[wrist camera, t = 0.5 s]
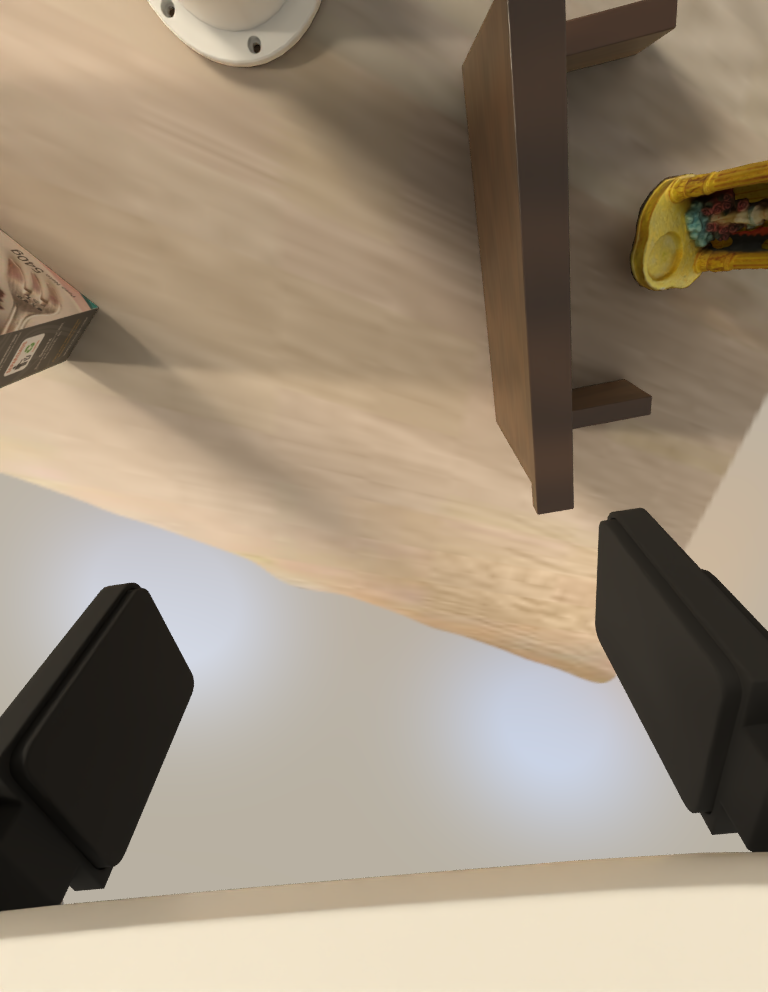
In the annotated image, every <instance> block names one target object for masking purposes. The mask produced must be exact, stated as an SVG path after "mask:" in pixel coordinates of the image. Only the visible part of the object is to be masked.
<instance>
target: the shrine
mask: <svg viewBox="0 0 768 992" xmlns="http://www.w3.org/2000/svg"><path fill="white" fill-rule="evenodd" d="M630 266H631V273H632V275H633V276H634V279H635V280H636V281H637V282H638V284H639V285H640V286H641V287H645V288H647V289H649V290H653V291H657V290H658V291H661V290H665V289H667V290H668V289H669V288H671V289H672V288H680V289H682V288H687V287H688V286H689V285H691V284H692V283H693V282H694V281H695V280H696V279H697V278H698V277H699V276H700V275H701V273H702V272H705V271H709V270H710V271H712V272H719V271H730V270H732V269H734V270H735V269H759V268H762V269H768V160H767V161H763V162H757V163H752V164H747V165H743V166H739V167H736V168H732V169H727V170H723V171H719V172H711V173H709V174H701V175H693V174H685V175H681V176H672V177H668V178H665V179H664V180H663V181H661V182H660V183H659V184H658V185H657V186H656V187H655V188H654V189H653V190H652V191H651V192H650V194H649V195H648V196H647V198H646V200H645V201H644V203H643V204H642V206H641V208H640V211H639V215H638V220H637V225H636V235H635V238H634V242H633V245H632V250H631V253H630Z"/></svg>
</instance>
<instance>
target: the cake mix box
mask: <svg viewBox="0 0 768 992" xmlns="http://www.w3.org/2000/svg"><path fill="white" fill-rule="evenodd" d="M98 308H99V307H97V306H96V305H95V304H94V303H92V302H91V301H90V300H89V299H87V298H86V297H85V296H84V295H82V294H81V293H80V292H78V291H77V290H76V289H75V288H73V287H72V286H71V285H70V284H68V283H67V282H66V281H65V280H63V279H62V278H61V277H60V276H58V275H57V274H56V273H55V272H53V271H52V270H51V269H49V268H48V267H47V266H46V265H44V264H43V263H42V262H41V261H39V260H38V259H37V258H36V257H34V256H33V255H32V254H31V253H29V252H28V251H27V250H26V249H24V248H23V247H22V246H20V245H19V244H18V243H17V242H15V241H14V240H13V239H12V238H10V237H9V236H8V235H7V234H5V233H4V232H3V231H2V230H0V388H2V387H4V386H7V385H9V384H12V383H14V382H16V381H19V380H21V379H23V378H26V377H28V376H31V375H33V374H35V373H38V372H40V371H43V370H45V369H47V368H50V367H52V366H54V365H57V364H59V363H62V362H64V361H66V360H67V358H68V356H69V355H70V353H71V352H72V350H73V348H74V347H75V345H76V344H77V342H78V340H79V339H80V337H81V336H82V334H83V332H84V331H85V329H86V327H87V326H88V324H89V323H90V321H91V319H92V318H93V316H94V315H95V313H96V311H97V310H98Z"/></svg>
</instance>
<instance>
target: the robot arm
mask: <svg viewBox="0 0 768 992" xmlns="http://www.w3.org/2000/svg"><path fill="white" fill-rule="evenodd" d="M147 1H148V3H149V4H150V6H151V7H152V9H153V10H154V11H155V12H156V14H157V15H158V16H159V18H160V19H161V20H162V22H163V23H164V24H165V25H166V26H167V27H168V28H169V29H170V30H171V31H172V32H173V33H174V34H175V35H176V36H177V37H178V38H179V39H180V40H181V41H182V42H184V43H185V44H186V45H187V46H189V47H190V48H191V49H192V50H194V51H195V52H197V53H199V54H200V55H202V56H204V57H206V58H208V59H210V60H212V61H214V62H218V63H221V64H225V65H228V66H237V67H251V66H256V65H261V64H265V63H268V62H270V61H272V60H274V59H276V58H278V57H280V56H282V55H283V54H284V53H285V52H287V51H288V50H289V49H290V48H291V47H293V46H294V45H295V44H296V43H297V42H298V41H299V39H300V38H301V37H302V36H303V34H304V33H305V32H306V30H307V29H308V28H309V26H310V24H311V22H312V21H313V19H314V17H315V15H316V13H317V11H318V9H319V7H320V4H321V0H147ZM171 9H175V13H174V16H173V17H171V16H170V10H171ZM256 44H258V45H260V52H258V53H255V52H254V46H255V45H256ZM595 626H596V632H597V636H598V639H599V641H600V643H601V645H602V647H603V649H604V651H605V653H606V655H607V657H608V659H609V661H610V662H611V664H612V666H613V668H614V670H615V672H616V674H617V676H618V678H619V680H620V681H621V684H622V685H623V687H624V689H625V691H626V693H627V695H628V697H629V699H630V701H631V703H632V705H633V707H634V708H635V710H636V712H637V714H638V716H639V718H640V720H641V722H642V724H643V726H644V728H645V730H646V731H647V733H648V735H649V737H650V739H651V741H652V743H653V745H654V747H655V749H656V751H657V753H658V754H659V756H660V758H661V760H662V762H663V764H664V766H665V768H666V770H667V772H668V773H669V775H670V777H671V779H672V781H673V783H674V785H675V787H676V789H677V791H678V793H679V795H680V796H681V799H682V800H683V802H684V804H685V806H686V807H687V808H688V810H689V811H691V812H692V813H701V815H702V817H703V819H704V821H705V823H706V824H707V826H708V828H709V830H710V832H711V834H712V835H715V834H727V833H738V834H739V835H740V837H741V839H742V840H743V842H744V844H745V845H746V847H747V849H748V850H750V851H752V852H723V853H691V854H674V855H658V856H641V857H625V858H609V859H592V860H578V861H565V862H553V863H541V864H529V865H517V866H516V865H515V866H503V867H491V868H478V869H465V870H453V871H441V872H428V873H416V874H404V875H392V876H380V877H368V878H357V879H344V880H333V881H321V882H309V883H298V884H286V885H275V886H263V887H251V888H240V889H228V890H217V891H206V892H194V893H184V894H174V895H162V896H151V897H140V898H129V899H118V900H107V901H96V902H85V903H74V904H63V898H64V896H65V893H66V892H67V889H68V887H69V886H70V887H71V888H73V889H74V891H80V890H91V889H102V888H104V887H105V885H106V883H107V880H108V878H109V876H110V873H111V871H112V868H113V866H115V865H117V864H118V863H119V862H120V861H121V860H122V858H123V856H124V854H125V852H126V849H127V847H128V845H129V842H130V840H131V838H132V835H133V833H134V831H135V828H136V826H137V823H138V821H139V819H140V816H141V814H142V812H143V809H144V807H145V804H146V802H147V800H148V797H149V795H150V792H151V790H152V787H153V785H154V783H155V781H156V778H157V776H158V773H159V771H160V768H161V766H162V764H163V761H164V759H165V757H166V754H167V752H168V750H169V747H170V745H171V743H172V740H173V738H174V735H175V733H176V731H177V728H178V726H179V723H180V721H181V718H182V716H183V714H184V712H185V709H186V707H187V704H188V702H189V700H190V697H191V695H192V692H193V687H194V680H193V675H192V673H191V671H190V669H189V667H188V665H187V663H186V662H185V660H184V658H183V656H182V654H181V652H180V650H179V648H178V646H177V644H176V643H175V641H174V639H173V637H172V635H171V633H170V632H169V629H168V628H167V626H166V624H165V622H164V620H163V618H162V616H161V614H160V612H159V610H158V609H157V607H156V605H155V603H154V601H153V599H152V597H151V595H150V594H149V592H148V591H147V590H146V589H144V588H141V587H140V586H139V585H138V584H136V583H126V584H119V585H113V586H108V587H104V588H103V589H102V590H101V591H100V593H99V594H98V595H97V596H96V598H95V599H94V600H93V601H92V603H91V604H90V605H89V606H88V608H87V609H86V610H85V611H84V612H83V614H82V615H81V616H80V618H79V619H78V620H77V621H76V623H75V624H74V625H73V626H72V628H71V629H70V630H69V631H68V633H67V634H66V635H65V636H64V638H63V639H62V640H61V641H60V643H59V644H58V645H57V646H56V648H55V649H54V650H53V651H52V653H51V654H50V655H49V657H48V658H47V659H46V660H45V662H44V663H43V664H42V665H41V667H40V668H39V669H38V670H37V672H36V673H35V674H34V675H33V677H32V678H31V679H30V680H29V682H28V683H27V684H26V685H25V687H24V688H23V689H22V690H21V692H20V693H19V694H18V696H17V697H16V698H15V699H14V701H13V702H12V703H11V704H10V706H9V707H8V708H7V709H6V711H5V712H4V713H3V714H2V716H1V717H0V992H768V631H767V630H766V629H765V628H764V627H763V626H762V625H761V624H760V623H759V622H758V621H757V620H756V619H755V618H754V616H753V615H752V614H751V613H750V612H749V611H748V610H747V609H746V608H745V607H744V606H743V605H742V604H741V603H740V602H739V601H738V600H737V599H736V598H735V597H734V596H733V595H732V593H730V591H729V590H728V589H727V588H726V587H725V586H724V585H723V584H722V583H721V582H720V581H719V580H718V579H717V578H716V577H715V576H714V575H712V574H711V573H710V572H709V571H706V570H703V569H700V568H699V567H698V565H697V564H696V563H694V561H693V560H692V559H691V558H690V557H689V556H688V555H687V554H686V553H685V552H684V550H683V549H682V548H681V547H680V546H679V545H678V544H677V543H676V542H675V541H674V540H673V539H672V538H671V537H670V536H669V534H668V533H667V532H666V531H665V530H664V529H663V528H662V527H661V526H660V525H659V524H658V523H657V522H656V521H655V519H654V518H653V517H652V516H651V515H650V514H649V513H648V512H647V511H646V510H645V509H643V508H636V509H629V510H623V511H616V512H611V513H610V514H609V516H608V520H606V521H601V522H600V525H599V540H598V565H597V591H596V616H595Z"/></svg>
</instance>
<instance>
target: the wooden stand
mask: <svg viewBox="0 0 768 992" xmlns="http://www.w3.org/2000/svg"><path fill="white" fill-rule="evenodd" d="M676 15H677V0H643V1H639V2H635V3H631V4H628V5H624V6H620V7H616V8H613V9H609V10H605V11H601V12H598V13H594V14H590V15H587V16H583V17H579V18H575V19H572V20H568V21H566V11H565V0H494V1H493V3H492V5H491V7H490V9H489V11H488V13H487V15H486V18H485V20H484V22H483V24H482V26H481V28H480V30H479V32H478V34H477V36H476V38H475V40H474V42H473V44H472V47H471V49H470V51H469V53H468V55H467V57H466V59H465V61H464V63H463V65H462V73H463V84H464V94H465V104H466V114H467V125H468V135H469V145H470V156H471V166H472V176H473V186H474V197H475V207H476V217H477V227H478V238H479V248H480V258H481V269H482V279H483V289H484V299H485V310H486V320H487V330H488V340H489V351H490V361H491V371H492V382H493V392H494V402H495V412H496V422H497V424H498V425H499V427H500V429H501V431H502V432H503V434H504V436H505V438H506V439H507V441H508V443H509V445H510V446H511V448H512V450H513V451H514V453H515V455H516V457H517V458H518V460H519V462H520V464H521V465H522V467H523V469H524V471H525V472H526V474H527V476H528V477H529V479H530V481H531V483H532V497H533V507H534V508H535V510H536V512H537V514H545V513H551V512H556V511H562V510H568V509H573V508H574V492H573V432H572V429H575V428H581V427H586V426H591V425H597V424H602V423H608V422H613V421H618V420H624V419H629V418H634V417H640V416H645V415H650V414H651V399H652V396H651V395H649V394H647V393H646V392H644V391H643V390H641V389H639V388H638V387H636V386H635V385H633V384H632V383H630V382H628V381H627V380H625V379H623V380H618V381H613V382H607V383H602V384H597V385H592V386H587V387H582V388H577V389H572V372H571V311H570V251H569V191H568V131H567V72H570V71H574V70H578V69H582V68H586V67H590V66H593V65H597V64H601V63H605V62H609V61H613V60H617V59H621V58H625V57H628V56H632V55H636V54H638V53H639V52H641V51H642V50H643V49H645V48H646V47H648V46H649V45H651V44H652V43H654V42H655V41H657V40H658V39H660V38H661V37H662V36H664V35H665V34H667V33H668V32H670V31H671V30H673V29H674V28H675V27H676Z"/></svg>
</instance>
